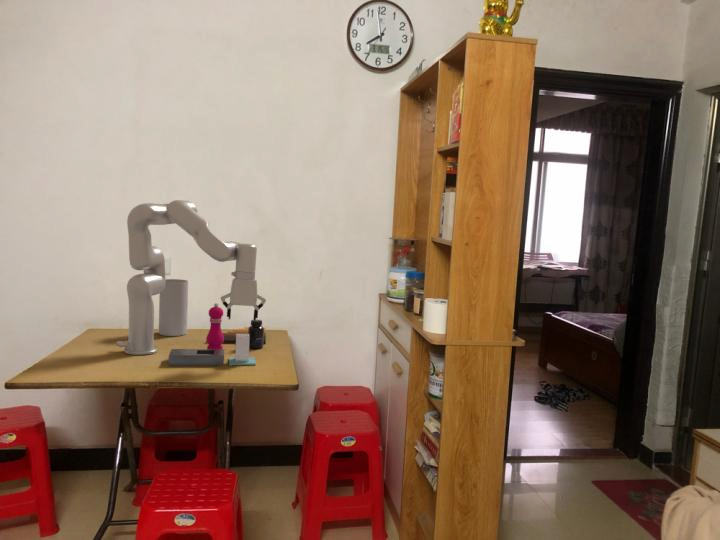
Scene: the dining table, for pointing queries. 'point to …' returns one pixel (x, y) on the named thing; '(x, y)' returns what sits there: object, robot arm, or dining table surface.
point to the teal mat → (232, 362)
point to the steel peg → (242, 348)
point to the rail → (196, 357)
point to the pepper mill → (215, 328)
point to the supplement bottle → (256, 334)
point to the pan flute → (231, 336)
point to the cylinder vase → (173, 308)
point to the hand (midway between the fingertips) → (242, 319)
